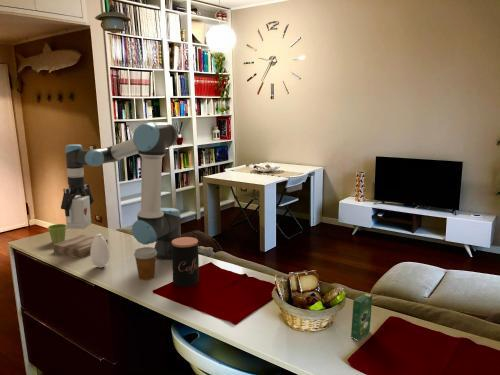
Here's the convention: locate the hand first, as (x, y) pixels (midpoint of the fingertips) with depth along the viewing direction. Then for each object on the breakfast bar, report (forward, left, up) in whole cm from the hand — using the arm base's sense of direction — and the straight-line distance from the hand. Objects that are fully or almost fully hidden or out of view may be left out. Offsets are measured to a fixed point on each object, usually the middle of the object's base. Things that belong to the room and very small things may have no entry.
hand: (79, 219), depth 207 cm
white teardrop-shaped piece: (-26, +13, -16) cm, 33 cm away
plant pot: (+20, -3, -16) cm, 26 cm away
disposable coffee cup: (-52, +13, -16) cm, 56 cm away
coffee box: (-143, +19, -16) cm, 145 cm away
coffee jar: (-70, +10, -16) cm, 73 cm away
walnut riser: (0, 0, -16) cm, 16 cm away
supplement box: (0, 0, -4) cm, 4 cm away
